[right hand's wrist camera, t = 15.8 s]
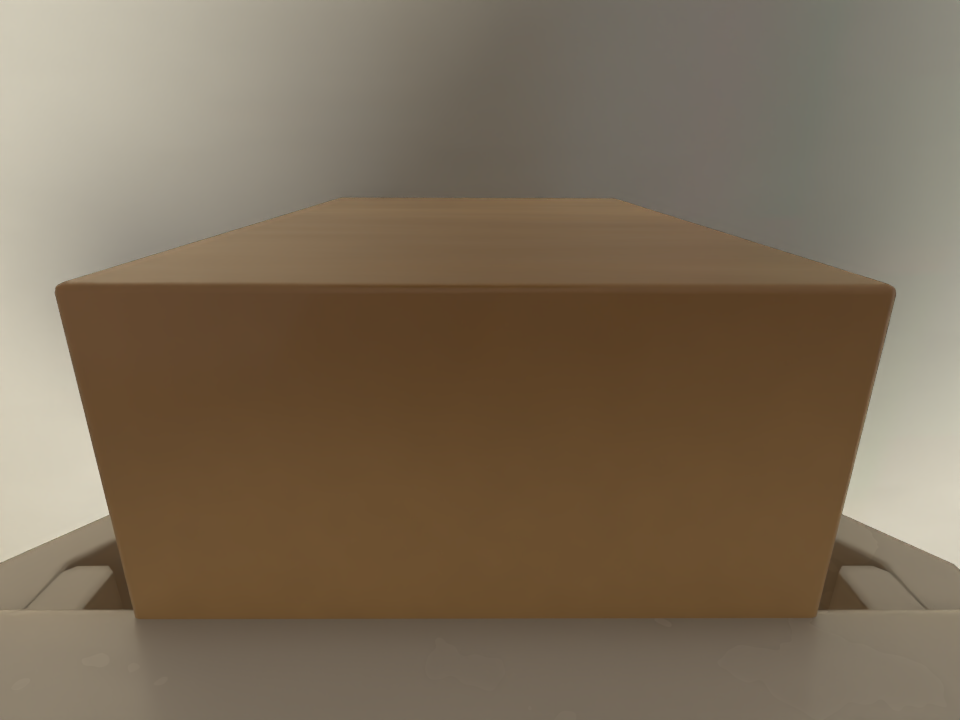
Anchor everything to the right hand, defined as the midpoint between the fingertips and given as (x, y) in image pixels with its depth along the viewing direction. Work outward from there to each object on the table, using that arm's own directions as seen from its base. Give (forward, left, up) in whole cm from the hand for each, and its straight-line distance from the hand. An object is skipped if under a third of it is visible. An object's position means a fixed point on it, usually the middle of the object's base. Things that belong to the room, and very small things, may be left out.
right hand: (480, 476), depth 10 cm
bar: (+9, +1, -3) cm, 10 cm away
